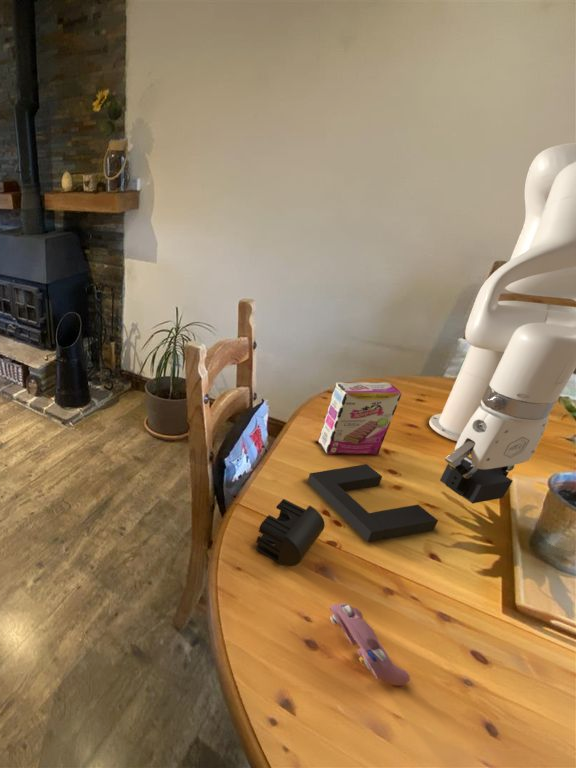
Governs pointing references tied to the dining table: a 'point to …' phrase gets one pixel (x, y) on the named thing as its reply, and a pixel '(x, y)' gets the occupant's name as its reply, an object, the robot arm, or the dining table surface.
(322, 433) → the candy bar box
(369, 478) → the notch pad
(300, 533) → the end cap
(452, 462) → the robot arm
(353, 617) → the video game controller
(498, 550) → the dining table surface
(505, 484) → the black square block
